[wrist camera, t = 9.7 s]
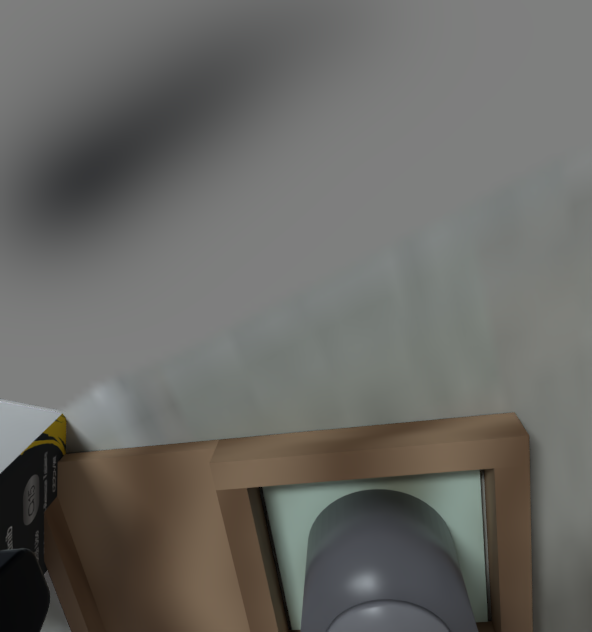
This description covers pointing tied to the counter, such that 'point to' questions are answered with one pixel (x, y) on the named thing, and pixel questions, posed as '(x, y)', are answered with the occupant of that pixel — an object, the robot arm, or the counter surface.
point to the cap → (383, 568)
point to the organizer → (275, 521)
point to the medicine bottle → (28, 472)
